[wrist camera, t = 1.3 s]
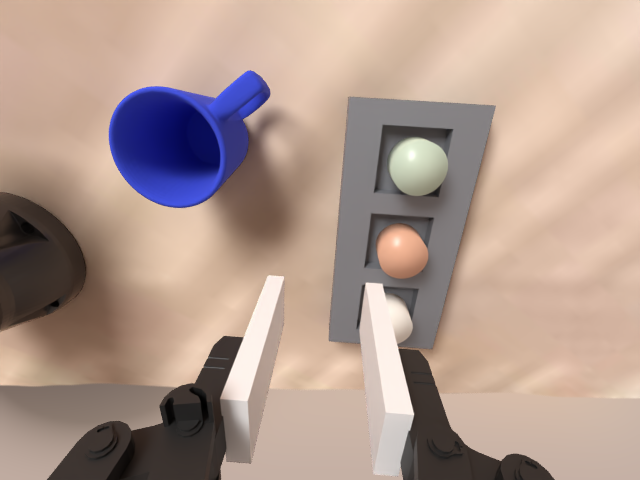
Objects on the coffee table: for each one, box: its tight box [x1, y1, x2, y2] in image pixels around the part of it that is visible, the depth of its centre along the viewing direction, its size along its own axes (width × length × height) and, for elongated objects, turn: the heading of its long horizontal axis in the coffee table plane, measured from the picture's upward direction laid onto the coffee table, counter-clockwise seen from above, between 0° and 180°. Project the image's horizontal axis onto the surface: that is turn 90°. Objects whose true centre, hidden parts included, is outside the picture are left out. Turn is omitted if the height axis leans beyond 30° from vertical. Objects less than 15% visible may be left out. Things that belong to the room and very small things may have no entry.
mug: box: [109, 71, 270, 208], centre depth 26 cm, size 8×12×10 cm
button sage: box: [387, 137, 448, 196], centre depth 27 cm, size 4×4×3 cm
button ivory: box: [385, 293, 413, 344], centre depth 33 cm, size 4×4×3 cm
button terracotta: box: [375, 223, 428, 279], centre depth 30 cm, size 4×4×3 cm
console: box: [329, 97, 496, 349], centre depth 33 cm, size 12×26×3 cm, turn 177°
